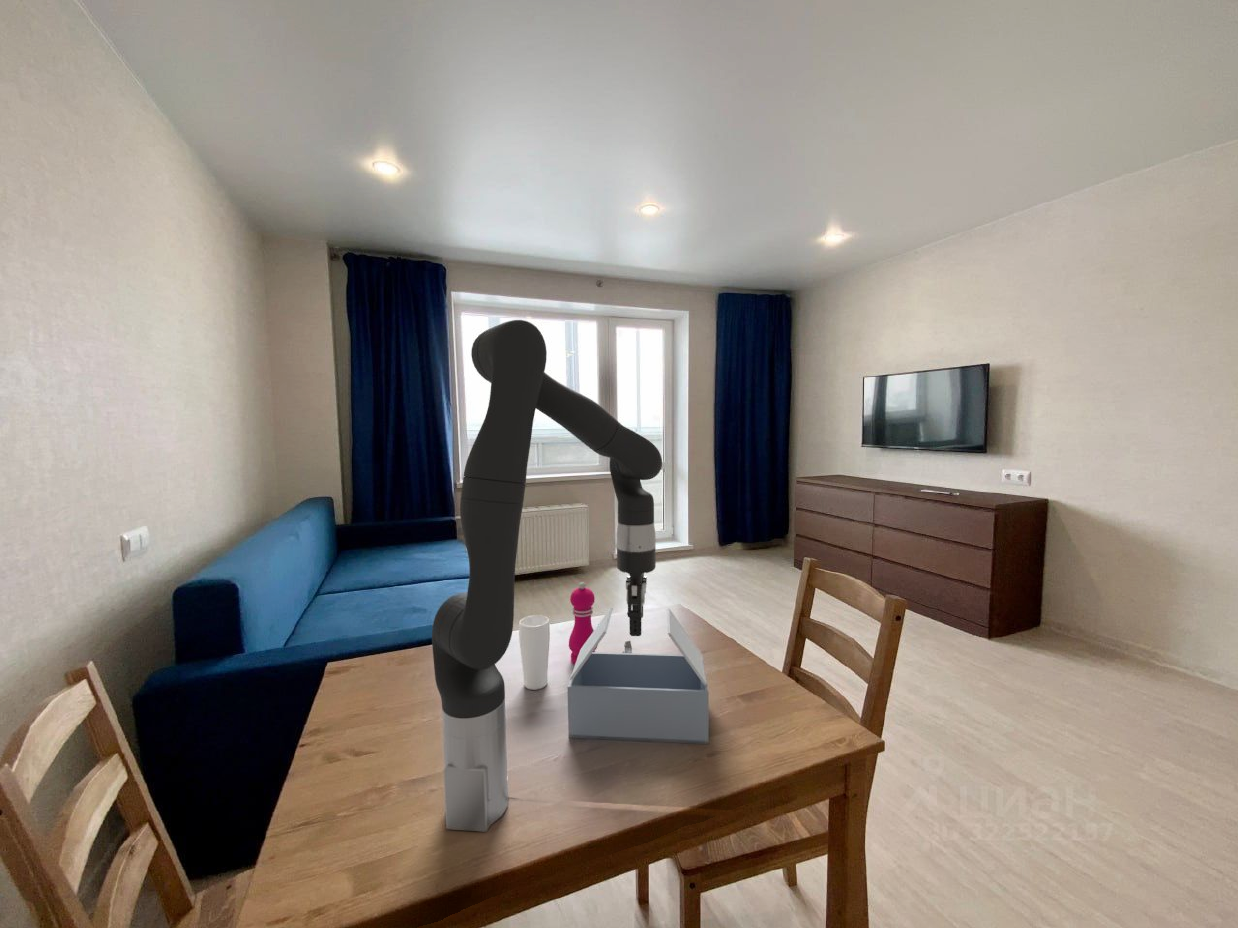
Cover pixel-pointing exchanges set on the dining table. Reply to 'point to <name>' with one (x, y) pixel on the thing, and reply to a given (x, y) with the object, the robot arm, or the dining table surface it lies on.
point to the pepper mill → (581, 619)
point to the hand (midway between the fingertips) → (636, 625)
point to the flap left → (592, 642)
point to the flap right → (685, 645)
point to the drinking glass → (534, 650)
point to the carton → (638, 699)
